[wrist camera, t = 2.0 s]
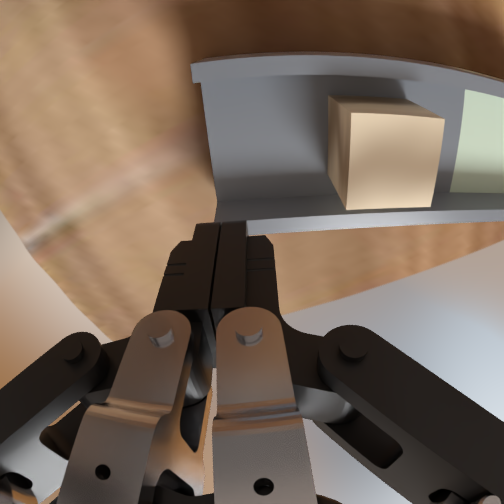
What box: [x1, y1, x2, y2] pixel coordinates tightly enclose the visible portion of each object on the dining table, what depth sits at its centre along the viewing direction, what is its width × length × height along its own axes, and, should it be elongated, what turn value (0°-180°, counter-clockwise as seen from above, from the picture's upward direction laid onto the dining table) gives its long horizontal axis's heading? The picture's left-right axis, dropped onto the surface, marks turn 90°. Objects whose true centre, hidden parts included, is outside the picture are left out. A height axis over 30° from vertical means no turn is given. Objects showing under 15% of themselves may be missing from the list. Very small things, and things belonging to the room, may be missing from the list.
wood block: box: [327, 95, 445, 210], centre depth 16 cm, size 5×5×4 cm
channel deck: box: [190, 52, 504, 235], centre depth 18 cm, size 10×33×6 cm, turn 94°
